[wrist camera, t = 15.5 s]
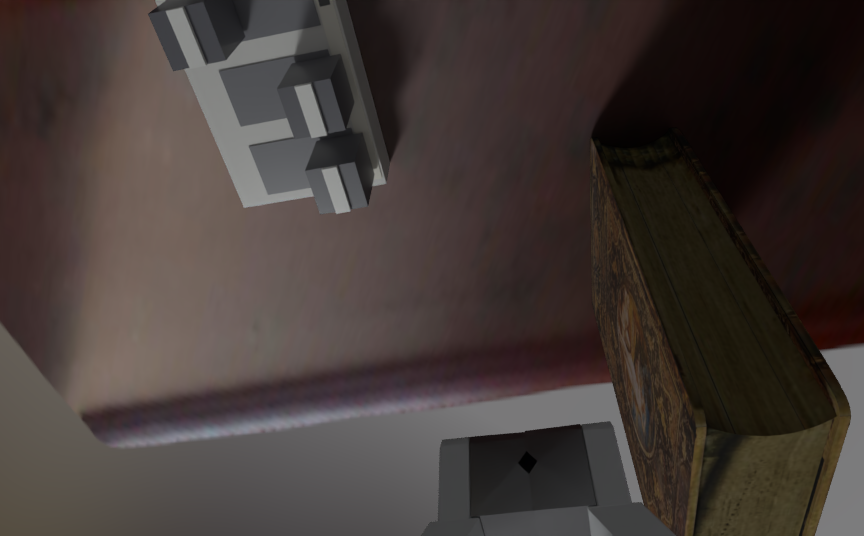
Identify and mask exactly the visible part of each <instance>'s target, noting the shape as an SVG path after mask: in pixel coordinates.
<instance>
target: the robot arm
mask: <svg viewBox="0 0 864 536" xmlns="http://www.w3.org/2000/svg"><path fill="white" fill-rule="evenodd" d="M438 502H439V503H438V521H437V522H430V523H429V524H428V526H427V527H426V529H425V530H424V532H423V533H422V535H421V536H676V535H675V534H674V533H673V532H672V531H671V530H670V529H669V528H668V527H666V526H665V525H664V524H663V523H662V522H661V521H660V520H659V519H658V518H657V517H656V516H655V515H654V514H653V513H652V512H651V511H650V510H648V509H647V508H646V507H645V506H644V505H643V504H642V503H641V502H640V503H639V502H638V503H632V501H631V497H630V493H629V489H628V485H627V481H626V477H625V473H624V469H623V464H622V460H621V456H620V452H619V448H618V444H617V440H616V436H615V432H614V428H613V425H612V424H611V422H600V423H591V424H582V425H580V424H577V425H570V426H562V427H554V428H546V429H538V430H530V431H525V432H522V433H509V434H498V435H486V436H475V437H465V438H457V439H446V440H442V442H441V446H440V462H439V500H438Z"/></svg>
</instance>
